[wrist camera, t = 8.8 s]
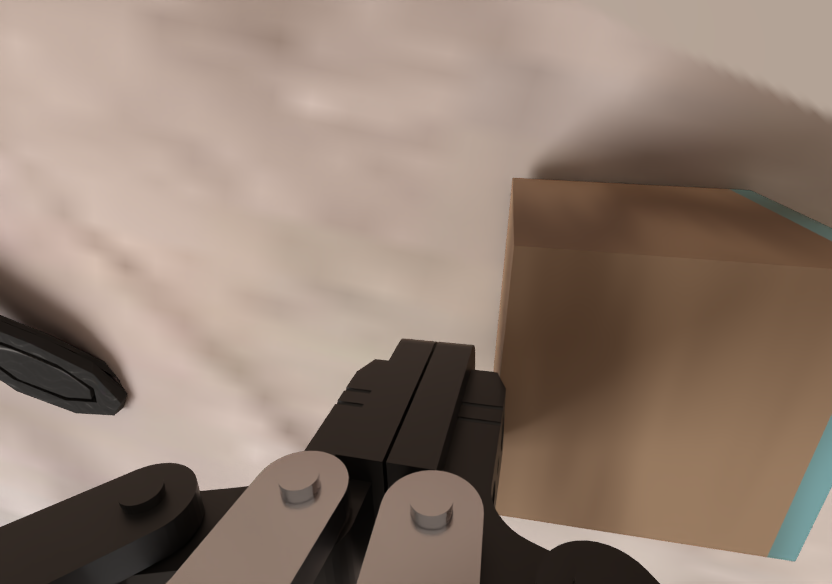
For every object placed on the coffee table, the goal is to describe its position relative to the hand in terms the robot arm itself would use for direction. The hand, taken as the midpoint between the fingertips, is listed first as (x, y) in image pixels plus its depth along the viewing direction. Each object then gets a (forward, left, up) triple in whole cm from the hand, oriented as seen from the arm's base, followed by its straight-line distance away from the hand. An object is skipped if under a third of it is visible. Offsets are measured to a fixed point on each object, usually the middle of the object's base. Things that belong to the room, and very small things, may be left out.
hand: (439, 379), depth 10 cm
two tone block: (+1, 0, -2) cm, 3 cm away
